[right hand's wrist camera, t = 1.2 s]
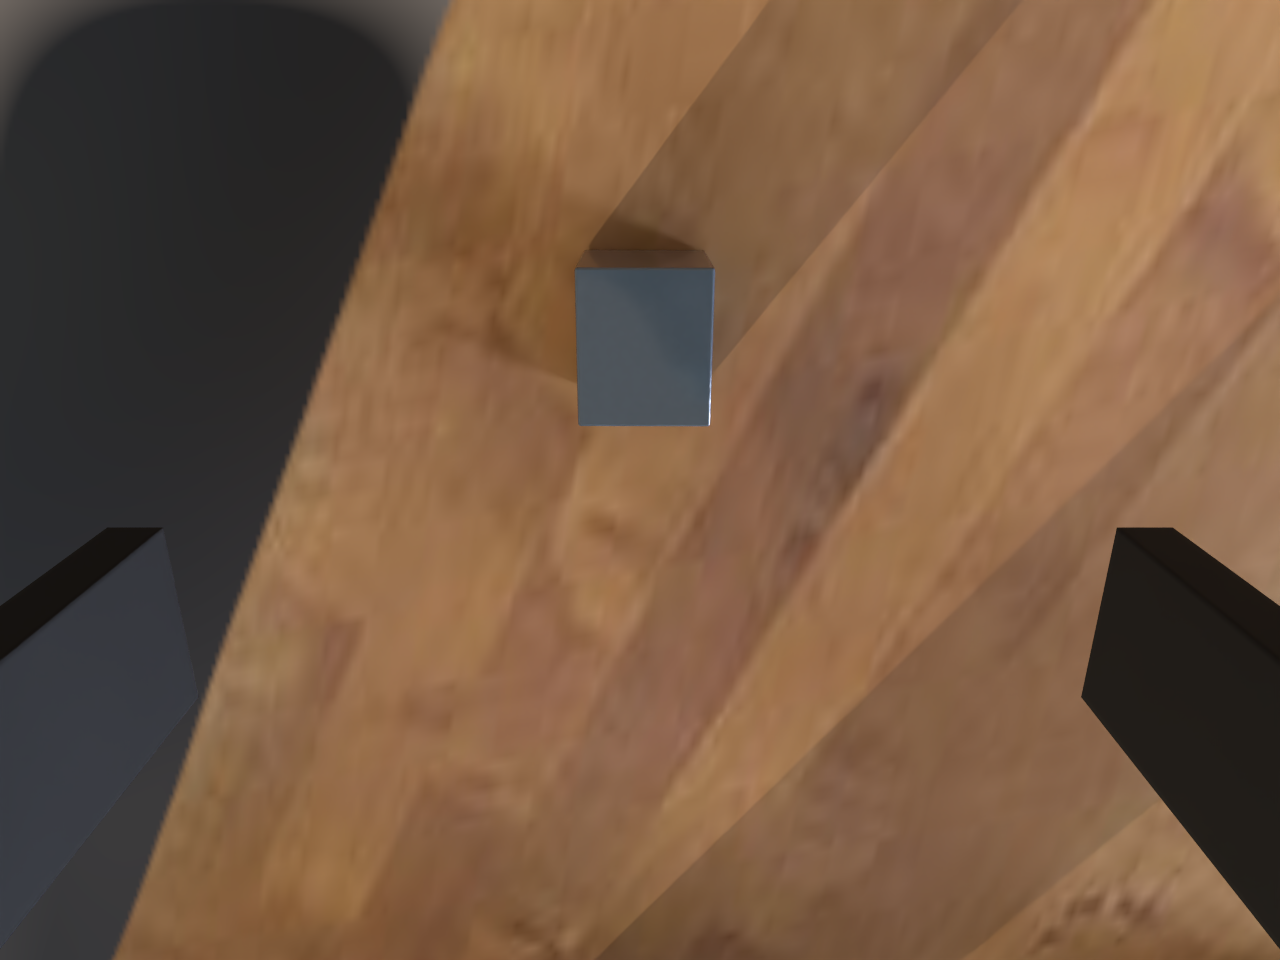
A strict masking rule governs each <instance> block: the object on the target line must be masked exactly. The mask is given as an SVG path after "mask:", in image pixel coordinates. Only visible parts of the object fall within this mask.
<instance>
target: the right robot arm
mask: <svg viewBox="0 0 1280 960" xmlns="http://www.w3.org/2000/svg"><path fill="white" fill-rule="evenodd" d="M1081 697H1082V699H1083V700H1084V701H1085V702H1086V704H1087V705H1088V706H1089V708H1090V709H1091V710H1092V711H1093V713H1094V714H1095V715H1096V716H1097V718H1098V719H1099V720H1100V721H1101V723H1102V724H1103V725H1104V727H1105V728H1106V729H1107V730H1108V732H1109V733H1110V734H1111V735H1112V737H1113V738H1114V739H1115V740H1116V742H1117V743H1118V744H1119V746H1120V747H1121V748H1122V749H1123V751H1124V752H1125V753H1126V754H1127V756H1128V757H1129V758H1130V760H1131V761H1132V762H1133V763H1134V765H1135V766H1136V767H1137V768H1138V770H1139V771H1140V772H1141V773H1142V775H1143V776H1144V777H1145V779H1146V780H1147V781H1148V782H1149V784H1150V785H1151V786H1152V787H1153V789H1154V790H1155V791H1156V793H1157V794H1158V795H1159V796H1160V798H1161V799H1162V800H1163V801H1164V803H1165V804H1166V805H1167V806H1168V808H1169V809H1170V810H1171V812H1172V813H1173V814H1174V815H1175V817H1176V818H1177V819H1178V820H1179V822H1180V823H1181V824H1182V826H1183V827H1184V828H1185V829H1186V831H1187V832H1188V833H1189V834H1190V836H1191V837H1192V838H1193V839H1194V841H1195V842H1196V843H1197V845H1198V846H1199V847H1200V848H1201V850H1202V851H1203V852H1204V853H1205V855H1206V856H1207V857H1208V858H1209V860H1210V861H1211V862H1212V864H1213V865H1214V866H1215V867H1216V869H1217V870H1218V871H1219V872H1220V874H1221V875H1222V876H1223V878H1224V879H1225V880H1226V881H1227V883H1228V884H1229V885H1230V886H1231V888H1232V889H1233V890H1234V891H1235V893H1236V894H1237V895H1238V897H1239V898H1240V899H1241V900H1242V902H1243V903H1244V904H1245V905H1246V907H1247V908H1248V909H1249V911H1250V912H1251V913H1252V914H1253V916H1254V917H1255V918H1256V919H1257V921H1258V922H1259V923H1260V924H1261V926H1262V927H1263V928H1264V930H1265V931H1266V932H1267V933H1268V935H1269V936H1270V937H1271V938H1272V940H1273V941H1274V942H1275V944H1276V945H1277V946H1278V947H1279V949H1280V606H1279V605H1277V604H1276V603H1275V602H1273V601H1272V600H1271V599H1269V598H1268V597H1267V596H1265V595H1264V594H1262V593H1261V592H1260V591H1258V590H1257V589H1256V588H1254V587H1253V586H1252V585H1250V584H1249V583H1247V582H1246V581H1245V580H1243V579H1242V578H1241V577H1239V576H1238V575H1237V574H1235V573H1234V572H1232V571H1231V570H1230V569H1228V568H1227V567H1226V566H1224V565H1223V564H1222V563H1220V562H1219V561H1217V560H1216V559H1215V558H1213V557H1212V556H1211V555H1209V554H1208V553H1207V552H1205V551H1204V550H1202V549H1201V548H1200V547H1198V546H1197V545H1196V544H1194V543H1193V542H1192V541H1190V540H1189V539H1187V538H1186V537H1185V536H1183V535H1182V534H1181V533H1179V532H1178V531H1177V530H1175V529H1174V528H1117V530H1116V535H1115V539H1114V544H1113V549H1112V554H1111V558H1110V563H1109V568H1108V573H1107V577H1106V582H1105V587H1104V592H1103V596H1102V601H1101V606H1100V611H1099V615H1098V620H1097V625H1096V630H1095V634H1094V639H1093V644H1092V649H1091V653H1090V658H1089V663H1088V668H1087V672H1086V677H1085V682H1084V687H1083V691H1082V696H1081ZM197 699H198V692H197V687H196V682H195V677H194V672H193V668H192V663H191V658H190V653H189V649H188V644H187V639H186V634H185V630H184V625H183V620H182V616H181V611H180V606H179V601H178V597H177V592H176V587H175V582H174V578H173V573H172V568H171V563H170V558H169V554H168V549H167V544H166V539H165V535H164V530H163V528H106V529H105V530H104V531H102V532H101V533H99V534H98V535H97V536H95V537H94V538H93V539H91V540H90V541H89V542H87V543H86V544H84V545H83V546H82V547H80V548H79V549H78V550H76V551H75V552H73V553H72V554H71V555H69V556H68V557H67V558H65V559H64V560H63V561H61V562H60V563H58V564H57V565H56V566H54V567H53V568H52V569H50V570H49V571H48V572H46V573H45V574H44V575H42V576H41V577H39V578H38V579H37V580H35V581H34V582H33V583H31V584H30V585H28V586H27V587H26V588H24V589H23V590H22V591H20V592H19V593H18V594H16V595H15V596H14V597H12V598H11V599H9V600H8V601H7V602H5V603H4V604H3V605H1V606H0V948H1V947H2V946H3V945H4V944H5V942H6V941H7V940H8V938H9V937H10V936H11V935H12V933H13V932H14V931H15V930H16V928H17V927H18V926H19V924H20V923H21V922H22V921H23V919H24V918H25V917H26V916H27V914H28V913H29V912H30V910H31V909H32V908H33V907H34V905H35V904H36V903H37V902H38V900H39V899H40V898H41V897H42V895H43V894H44V893H45V891H46V890H47V889H48V888H49V886H50V885H51V884H52V883H53V881H54V880H55V879H56V878H57V876H58V875H59V874H60V872H61V871H62V870H63V869H64V867H65V866H66V865H67V864H68V862H69V861H70V860H71V858H72V857H73V856H74V855H75V853H76V852H77V851H78V850H79V848H80V847H81V846H82V845H83V843H84V842H85V841H86V839H87V838H88V837H89V836H90V834H91V833H92V832H93V831H94V829H95V828H96V827H97V825H98V824H99V823H100V822H101V820H102V819H103V818H104V817H105V815H106V814H107V813H108V811H109V810H110V809H111V808H112V806H113V805H114V804H115V803H116V801H117V800H118V799H119V798H120V796H121V795H122V794H123V792H124V791H125V790H126V789H127V787H128V786H129V785H130V784H131V782H132V781H133V780H134V779H135V777H136V776H137V775H138V773H139V772H140V771H141V770H142V768H143V767H144V766H145V765H146V763H147V762H148V761H149V759H150V758H151V757H152V756H153V754H154V753H155V752H156V751H157V749H158V748H159V747H160V746H161V744H162V743H163V742H164V740H165V739H166V738H167V737H168V735H169V734H170V733H171V732H172V730H173V729H174V728H175V726H176V725H177V724H178V723H179V721H180V720H181V719H182V718H183V716H184V715H185V714H186V713H187V711H188V710H189V709H190V708H191V706H192V705H193V704H194V702H195V701H196V700H197Z"/></svg>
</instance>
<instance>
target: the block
mask: <svg viewBox="0 0 1280 960" xmlns="http://www.w3.org/2000/svg"><path fill="white" fill-rule="evenodd" d="M714 289H715V269H714V267H713V265H712V263H711V262H710V260H709V258H708V256H707V255H706V253H705V251H703V250H585V251H584V252H583V254H582V256H581V258H580V260H579V262H578V264H577V266H576V268H575V307H576V350H577V392H578V424H579V425H580V426H709V425H710V414H711V383H712V352H713V320H714Z"/></svg>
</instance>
